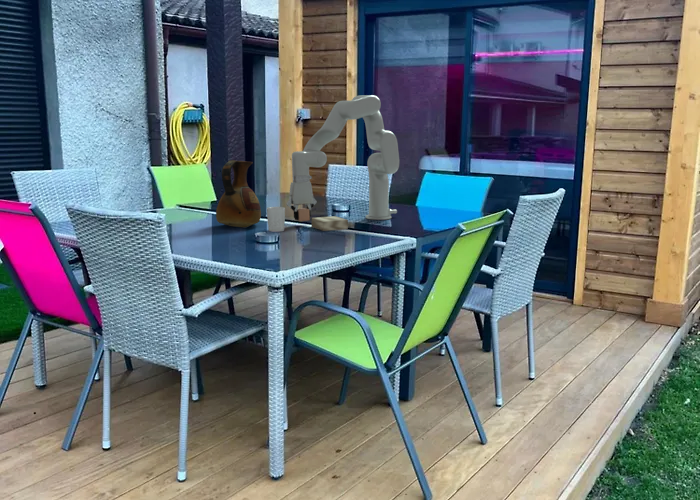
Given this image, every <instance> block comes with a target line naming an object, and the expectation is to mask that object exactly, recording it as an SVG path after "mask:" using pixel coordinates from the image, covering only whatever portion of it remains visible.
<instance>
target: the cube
mask: <svg viewBox="0 0 700 500" xmlns="http://www.w3.org/2000/svg"><path fill="white" fill-rule="evenodd" d="M297 211H298V216H299V220H296V221H297V222H306V221H310V219H311V216H310V215H309V209H307V208H306V207H301V208H299V207H298V210H297Z"/></svg>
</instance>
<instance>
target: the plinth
mask: <svg viewBox="0 0 700 500" xmlns="http://www.w3.org/2000/svg"><path fill="white" fill-rule="evenodd" d="M311 228H314V229H317V230H320V231H322V232H323V231H324V232H325V231H326V232H327V231H338V230H347V229H348V228H349V220H348V219H347V218H343V217H339V216H335V215H334V216H333V215H332V216H331V215H330V216H321V217H320V216H319V217H311ZM348 230H349V229H348Z"/></svg>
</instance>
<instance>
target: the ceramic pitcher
mask: <svg viewBox="0 0 700 500" xmlns="http://www.w3.org/2000/svg"><path fill="white" fill-rule="evenodd" d="M252 164H253V161H247V160H246V161H245V160H244V161H243V160H234V159H231V160H228V162H226V163H225V164H224V165H223V167H222V169H221V180H222V185H223V188H224V192H223V193H222V195H221V196H220V199H219V200H218V203H217V206H216V208H215V209H216V210H215V218H216V221H217V223H219V224H222V225H224V226H229V227H236V228H248V227H250V226H252V225H256V224H258V223H259V222H260V221H261V217H262V211H261V210H262V209H261V204H260V200H259V198H258V197H257V195H256V193H255V191H253V189H252V188H250V187H249V185H248V182H247V181H248V180H247V176H248V175H247V174H248V169H249V167H250V166H251V165H252ZM232 170H233V181H232V175H231V174H232V173H231V172H232Z"/></svg>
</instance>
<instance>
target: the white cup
mask: <svg viewBox="0 0 700 500" xmlns="http://www.w3.org/2000/svg"><path fill="white" fill-rule="evenodd" d="M266 214H267V215H266V216H267V218H266V219H267V225H268V226H267V229H268V232H273V233H275V232H276V233H278V232H284V231H285V222H286V221H285V220H286V207H283V206H269V207H267V208H266Z"/></svg>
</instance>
